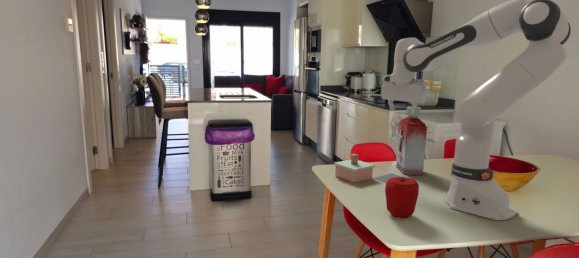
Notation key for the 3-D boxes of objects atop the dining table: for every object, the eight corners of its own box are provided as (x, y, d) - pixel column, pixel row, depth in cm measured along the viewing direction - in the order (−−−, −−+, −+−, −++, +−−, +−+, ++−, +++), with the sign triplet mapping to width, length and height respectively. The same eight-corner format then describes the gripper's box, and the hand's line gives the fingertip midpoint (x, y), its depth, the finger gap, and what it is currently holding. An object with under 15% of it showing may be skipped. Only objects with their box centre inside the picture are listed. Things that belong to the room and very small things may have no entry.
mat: (416, 182, 158) (416, 181, 158) (397, 188, 150) (397, 186, 150) (391, 174, 168) (391, 173, 168) (372, 179, 160) (372, 178, 160)
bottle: (425, 176, 166) (431, 109, 160) (401, 176, 166) (406, 108, 160) (415, 167, 180) (420, 105, 175) (393, 167, 180) (398, 104, 175)
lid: (374, 167, 159) (375, 155, 158) (354, 171, 152) (355, 159, 151) (353, 161, 168) (354, 150, 167) (334, 165, 161) (334, 153, 160)
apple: (408, 208, 129) (411, 170, 127) (422, 221, 119) (426, 180, 117) (378, 209, 128) (381, 171, 125) (390, 222, 118) (393, 181, 115)
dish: (372, 179, 160) (372, 167, 159) (353, 184, 154) (354, 171, 153) (353, 173, 169) (353, 161, 168) (335, 177, 162) (335, 165, 161)
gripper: (431, 79, 147) (428, 114, 150) (389, 77, 163) (387, 108, 166) (421, 79, 144) (418, 115, 146) (379, 77, 160) (377, 109, 162)
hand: (401, 112), depth 156 cm, fingers open, 8 cm apart
